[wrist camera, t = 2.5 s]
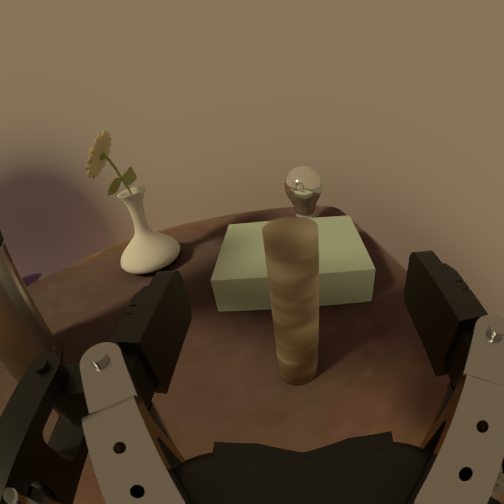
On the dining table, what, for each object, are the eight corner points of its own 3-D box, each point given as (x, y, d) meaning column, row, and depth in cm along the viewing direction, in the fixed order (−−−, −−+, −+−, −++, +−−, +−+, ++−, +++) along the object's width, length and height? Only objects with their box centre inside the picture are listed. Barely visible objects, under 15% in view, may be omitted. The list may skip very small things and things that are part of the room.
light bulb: (294, 238, 54) (289, 173, 48) (283, 223, 60) (277, 165, 54) (330, 231, 55) (328, 168, 49) (316, 217, 61) (313, 160, 55)
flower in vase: (146, 245, 60) (115, 125, 47) (193, 248, 56) (164, 113, 43) (106, 282, 49) (61, 144, 37) (154, 290, 45) (108, 128, 33)
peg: (278, 386, 28) (260, 243, 20) (278, 356, 31) (263, 218, 23) (318, 383, 27) (321, 238, 19) (316, 354, 31) (314, 214, 23)
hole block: (218, 311, 39) (210, 280, 37) (233, 250, 53) (229, 224, 51) (371, 301, 37) (375, 269, 34) (348, 242, 50) (349, 215, 48)
